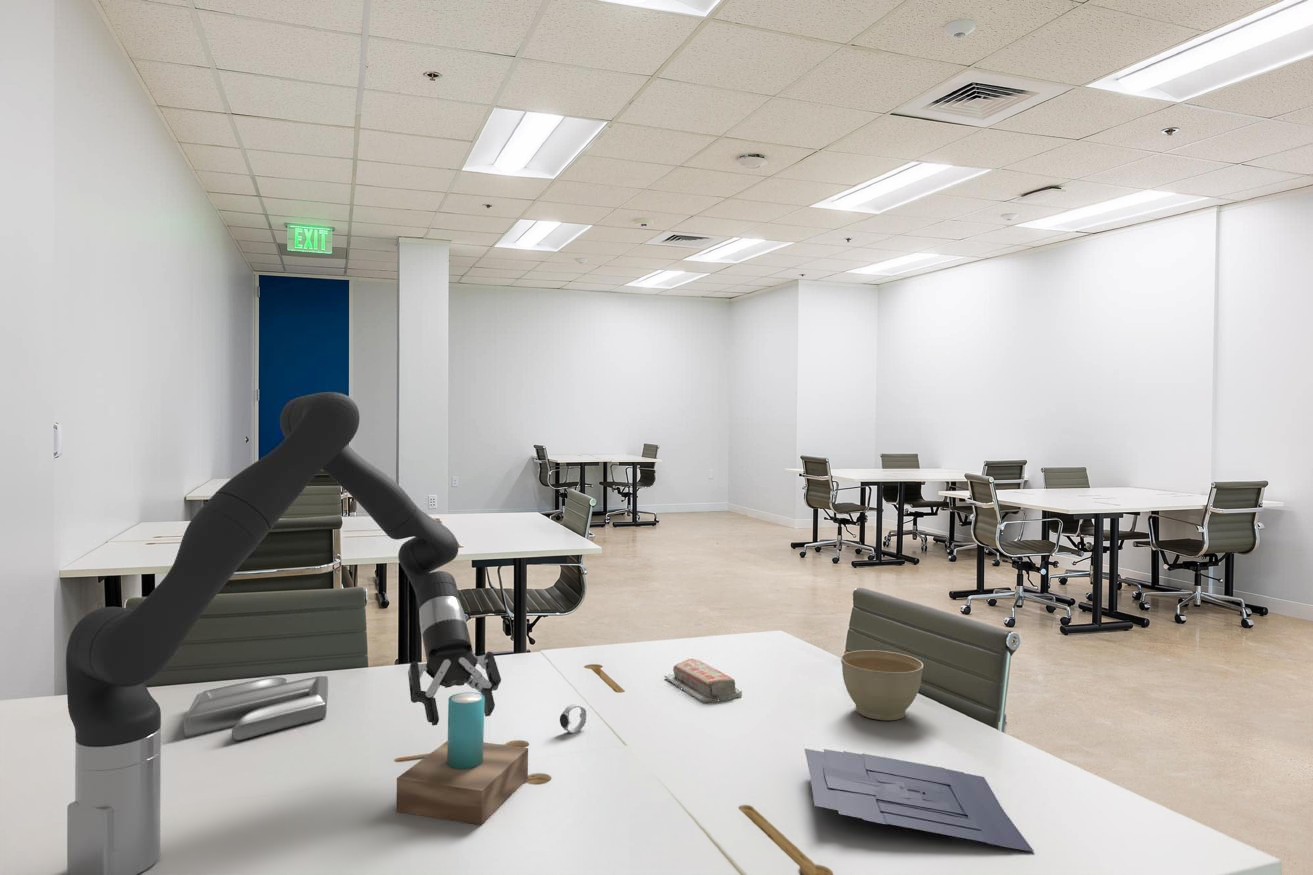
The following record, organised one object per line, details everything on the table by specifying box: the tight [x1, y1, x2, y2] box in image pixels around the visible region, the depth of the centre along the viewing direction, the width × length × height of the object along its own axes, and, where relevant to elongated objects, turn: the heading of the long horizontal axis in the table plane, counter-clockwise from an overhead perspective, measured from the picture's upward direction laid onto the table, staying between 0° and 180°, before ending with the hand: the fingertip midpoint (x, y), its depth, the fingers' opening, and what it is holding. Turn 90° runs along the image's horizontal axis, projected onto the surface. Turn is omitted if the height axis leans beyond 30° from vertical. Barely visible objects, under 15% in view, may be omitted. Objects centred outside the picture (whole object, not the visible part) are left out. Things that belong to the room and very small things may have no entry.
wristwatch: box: [559, 703, 587, 734], centre depth 152 cm, size 3×5×5 cm, turn 135°
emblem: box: [183, 675, 329, 741], centre depth 158 cm, size 28×5×28 cm
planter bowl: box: [840, 649, 924, 721], centre depth 164 cm, size 16×16×11 cm
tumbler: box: [447, 691, 485, 769], centre depth 126 cm, size 6×6×10 cm
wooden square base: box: [395, 740, 529, 826], centre depth 126 cm, size 16×14×5 cm
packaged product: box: [664, 658, 743, 704], centre depth 179 cm, size 18×5×10 cm
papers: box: [804, 748, 1035, 852], centre depth 124 cm, size 24×30×4 cm
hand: (462, 718), depth 127 cm, fingers open, 8 cm apart
